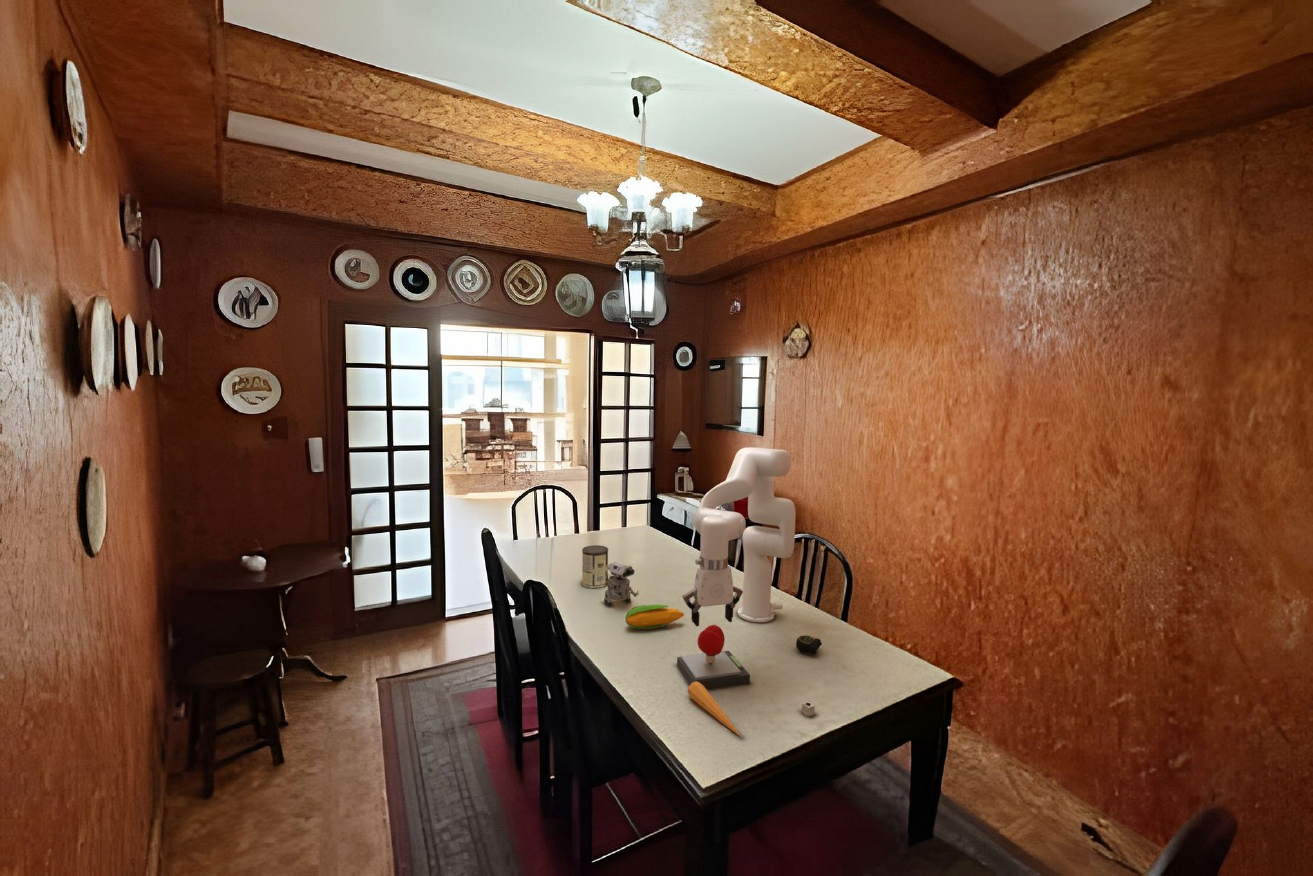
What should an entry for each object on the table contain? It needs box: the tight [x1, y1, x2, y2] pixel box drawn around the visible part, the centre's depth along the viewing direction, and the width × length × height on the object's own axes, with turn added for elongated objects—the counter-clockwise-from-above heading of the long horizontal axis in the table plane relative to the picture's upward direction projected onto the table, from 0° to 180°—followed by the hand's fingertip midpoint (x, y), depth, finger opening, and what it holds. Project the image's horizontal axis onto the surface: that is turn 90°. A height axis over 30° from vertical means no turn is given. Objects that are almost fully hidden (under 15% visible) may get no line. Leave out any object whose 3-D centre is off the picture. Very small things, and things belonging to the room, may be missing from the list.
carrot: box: [687, 681, 741, 737], centre depth 135 cm, size 20×4×4 cm, turn 31°
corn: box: [625, 604, 685, 630], centre depth 183 cm, size 7×8×20 cm
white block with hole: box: [801, 700, 816, 717], centre depth 137 cm, size 2×2×2 cm
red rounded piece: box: [697, 624, 726, 664], centre depth 154 cm, size 9×7×10 cm
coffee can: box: [581, 544, 609, 589], centre depth 221 cm, size 10×10×14 cm
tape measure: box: [795, 634, 823, 656], centre depth 169 cm, size 7×7×4 cm
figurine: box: [603, 561, 640, 607], centre depth 200 cm, size 9×12×15 cm
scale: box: [676, 650, 751, 691], centre depth 154 cm, size 16×14×3 cm
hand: (712, 622), depth 153 cm, fingers open, 9 cm apart
